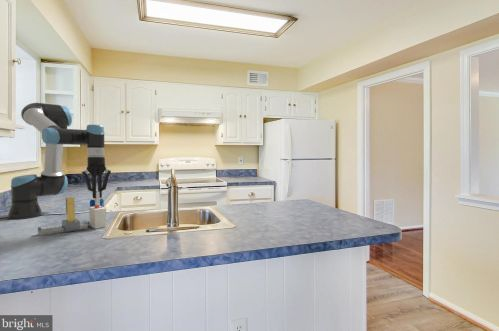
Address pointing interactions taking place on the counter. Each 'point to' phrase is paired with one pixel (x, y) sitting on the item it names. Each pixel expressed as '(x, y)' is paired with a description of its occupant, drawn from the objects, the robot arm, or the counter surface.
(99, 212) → the end cabinet
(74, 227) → the carriage
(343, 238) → the counter surface
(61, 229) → the rail
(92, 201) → the beverage can
